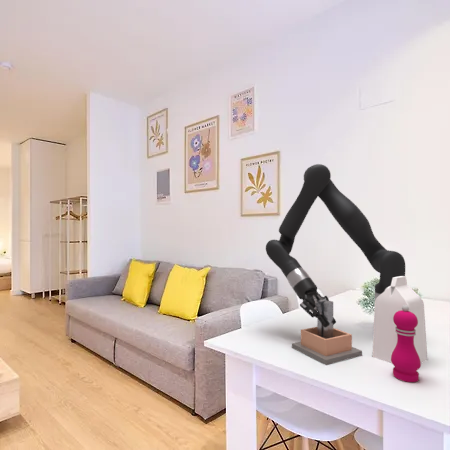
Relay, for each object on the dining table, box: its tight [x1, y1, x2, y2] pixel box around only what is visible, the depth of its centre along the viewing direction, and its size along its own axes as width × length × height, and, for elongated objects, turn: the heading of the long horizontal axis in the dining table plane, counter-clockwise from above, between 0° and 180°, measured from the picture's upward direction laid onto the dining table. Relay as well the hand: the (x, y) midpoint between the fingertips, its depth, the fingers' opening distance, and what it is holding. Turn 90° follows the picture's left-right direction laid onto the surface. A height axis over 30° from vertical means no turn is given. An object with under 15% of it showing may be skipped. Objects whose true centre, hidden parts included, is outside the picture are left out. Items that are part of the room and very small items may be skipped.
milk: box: [372, 275, 429, 364], centre depth 102 cm, size 12×12×26 cm
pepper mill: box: [391, 305, 422, 383], centre depth 89 cm, size 7×7×20 cm
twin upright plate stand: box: [316, 300, 334, 339], centre depth 107 cm, size 4×6×14 cm
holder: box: [291, 326, 363, 366], centre depth 107 cm, size 16×16×6 cm
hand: (330, 324), depth 106 cm, fingers closed on twin upright plate stand, 3 cm apart
